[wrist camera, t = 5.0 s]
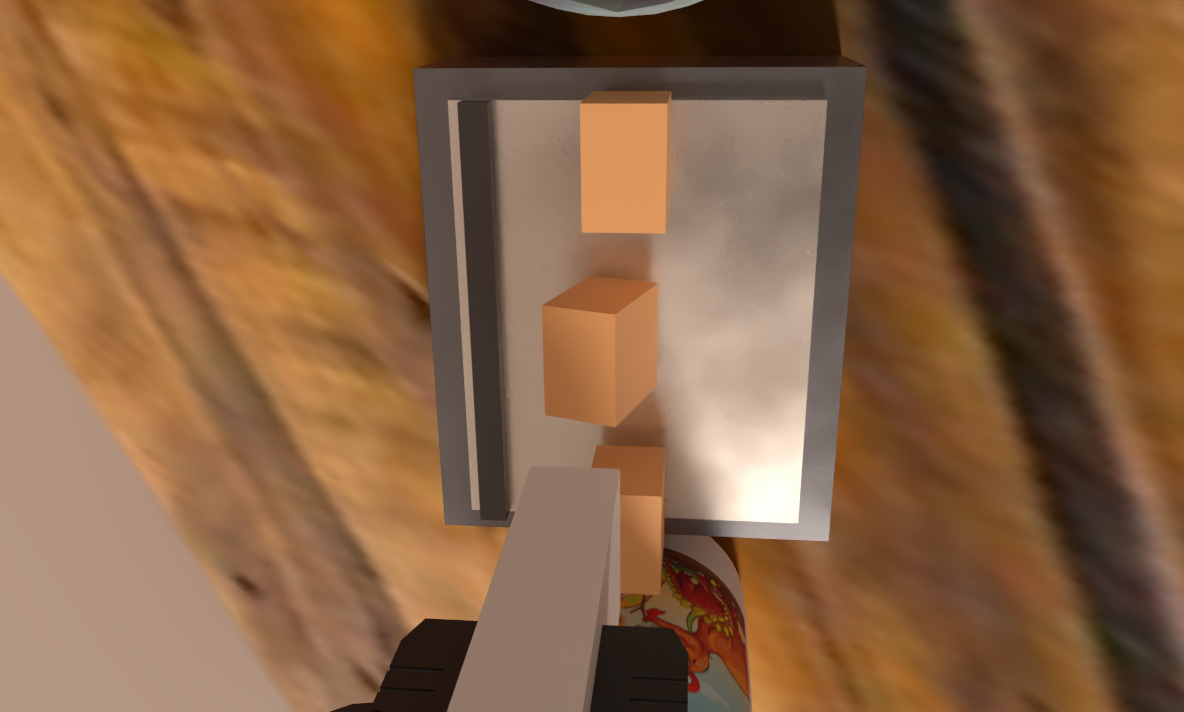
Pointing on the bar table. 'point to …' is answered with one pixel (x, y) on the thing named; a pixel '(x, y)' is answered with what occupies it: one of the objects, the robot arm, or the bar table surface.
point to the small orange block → (600, 349)
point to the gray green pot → (616, 6)
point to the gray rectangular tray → (647, 278)
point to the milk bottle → (700, 620)
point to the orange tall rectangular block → (625, 161)
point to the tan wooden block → (638, 513)
